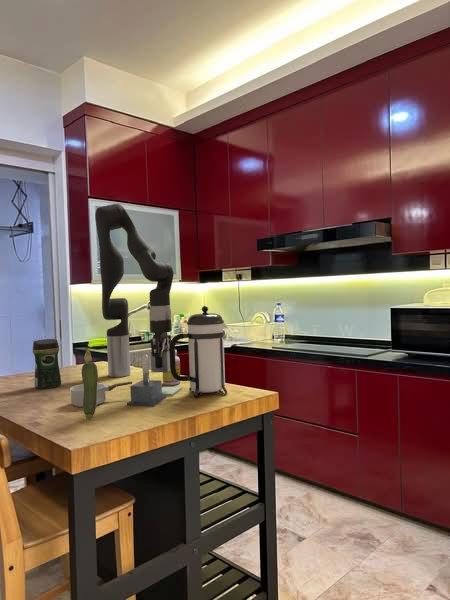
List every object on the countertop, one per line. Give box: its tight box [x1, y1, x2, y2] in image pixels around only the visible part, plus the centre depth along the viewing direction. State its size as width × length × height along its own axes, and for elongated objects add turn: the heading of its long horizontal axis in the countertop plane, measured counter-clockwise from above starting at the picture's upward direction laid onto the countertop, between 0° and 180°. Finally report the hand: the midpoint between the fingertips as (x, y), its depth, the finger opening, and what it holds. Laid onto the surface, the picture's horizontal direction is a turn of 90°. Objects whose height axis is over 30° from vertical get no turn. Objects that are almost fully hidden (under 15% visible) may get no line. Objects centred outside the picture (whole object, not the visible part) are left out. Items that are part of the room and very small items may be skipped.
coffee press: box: [170, 305, 228, 399], centre depth 149 cm, size 17×16×30 cm
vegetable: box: [81, 348, 99, 420], centre depth 124 cm, size 4×4×20 cm
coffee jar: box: [32, 338, 62, 389], centre depth 170 cm, size 10×8×19 cm
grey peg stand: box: [126, 354, 167, 408], centre depth 141 cm, size 11×9×15 cm
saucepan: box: [69, 380, 133, 408], centre depth 143 cm, size 12×20×6 cm, turn 115°
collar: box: [150, 350, 171, 373], centre depth 153 cm, size 6×6×7 cm
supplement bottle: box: [162, 349, 181, 386], centre depth 168 cm, size 7×7×13 cm
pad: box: [162, 386, 183, 397], centre depth 154 cm, size 10×10×1 cm
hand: (162, 366), depth 153 cm, fingers closed on collar, 6 cm apart
